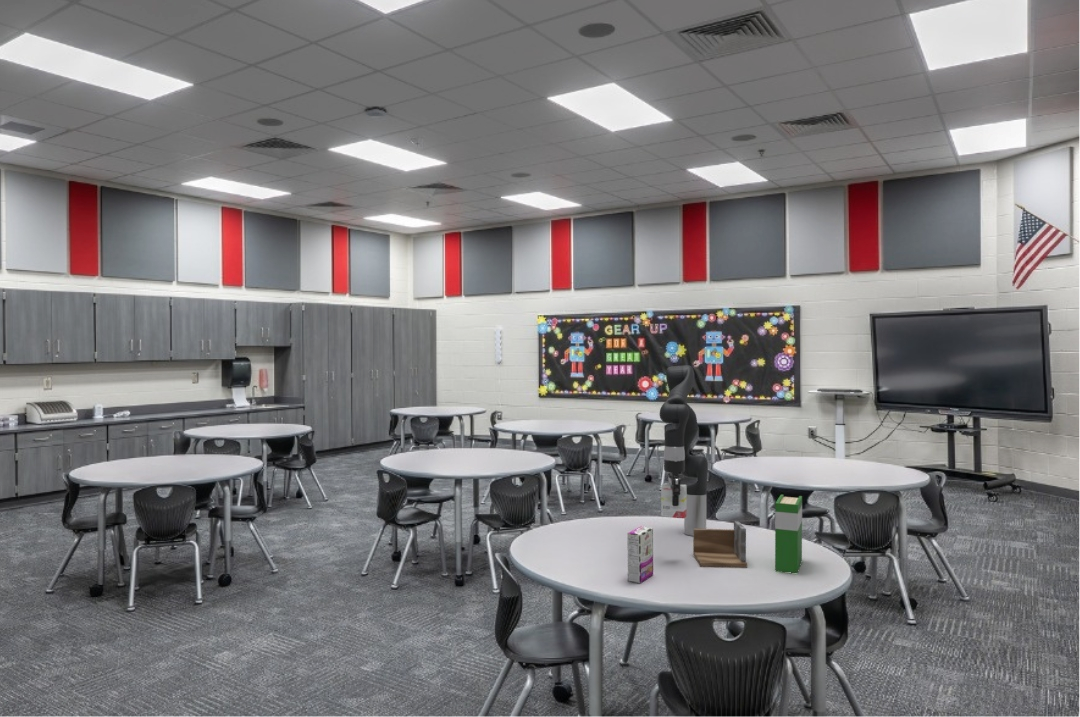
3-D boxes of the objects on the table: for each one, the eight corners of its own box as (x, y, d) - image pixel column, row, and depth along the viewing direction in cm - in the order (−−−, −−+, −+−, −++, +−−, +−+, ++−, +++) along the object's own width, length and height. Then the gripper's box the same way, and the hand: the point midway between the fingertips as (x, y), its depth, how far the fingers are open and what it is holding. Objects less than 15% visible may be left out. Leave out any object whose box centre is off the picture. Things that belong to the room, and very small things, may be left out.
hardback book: (780, 558, 258) (781, 494, 258) (801, 560, 255) (802, 496, 255) (775, 571, 242) (775, 503, 242) (797, 574, 239) (797, 505, 239)
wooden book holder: (693, 555, 262) (693, 519, 262) (737, 555, 261) (737, 520, 261) (700, 566, 247) (700, 529, 247) (747, 567, 246) (747, 530, 246)
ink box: (687, 516, 253) (687, 484, 253) (684, 519, 249) (684, 486, 249) (664, 513, 257) (664, 482, 257) (660, 516, 252) (660, 484, 252)
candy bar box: (640, 572, 239) (640, 525, 240) (653, 575, 237) (653, 527, 237) (626, 581, 230) (626, 532, 230) (640, 584, 227) (640, 534, 227)
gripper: (661, 455, 260) (661, 499, 260) (666, 461, 246) (666, 508, 246) (681, 455, 260) (681, 500, 260) (687, 461, 245) (687, 508, 245)
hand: (674, 503), depth 253 cm, fingers closed on ink box, 6 cm apart
